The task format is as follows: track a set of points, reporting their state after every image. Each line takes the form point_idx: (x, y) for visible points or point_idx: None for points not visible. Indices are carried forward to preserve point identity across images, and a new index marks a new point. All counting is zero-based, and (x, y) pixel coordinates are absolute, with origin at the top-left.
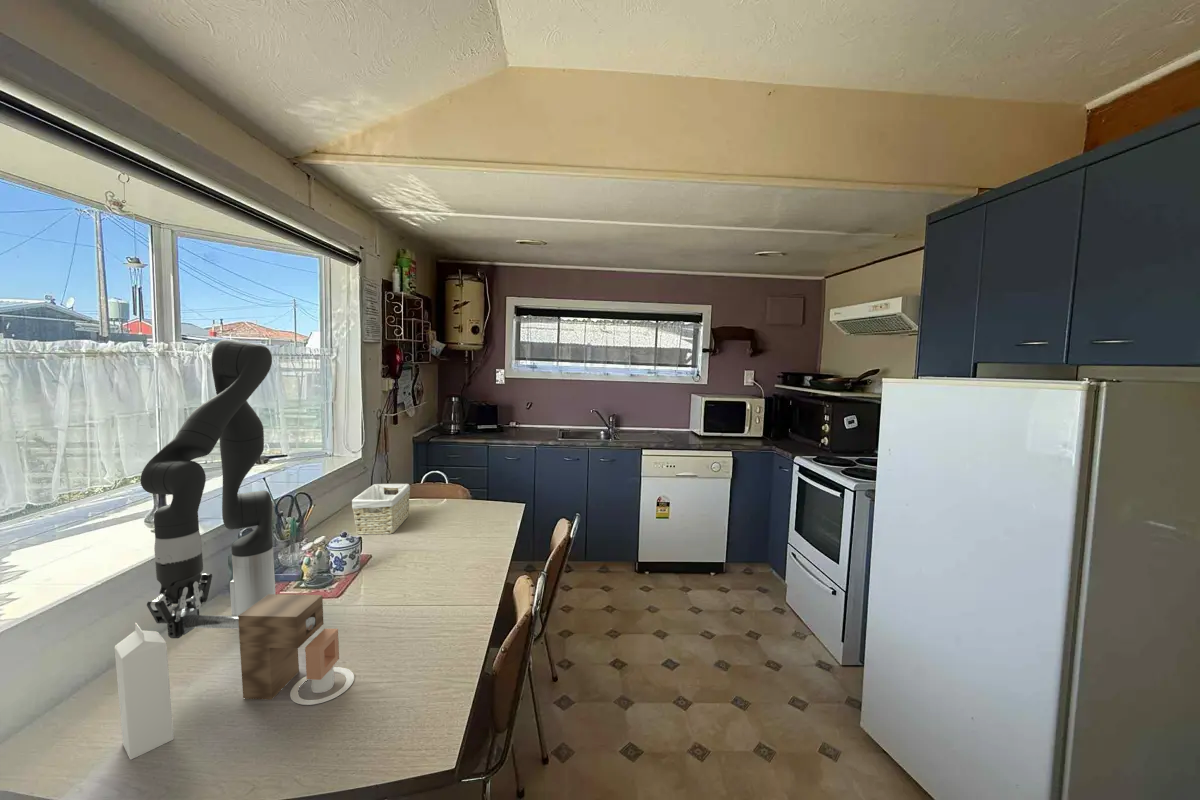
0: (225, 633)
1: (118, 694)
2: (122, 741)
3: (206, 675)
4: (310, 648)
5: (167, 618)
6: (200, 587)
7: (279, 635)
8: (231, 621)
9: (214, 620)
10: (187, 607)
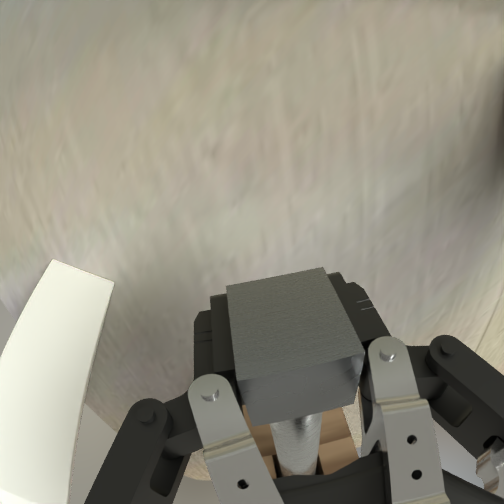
0: (460, 90)
1: (6, 345)
2: (50, 263)
3: (283, 205)
4: None
5: (156, 470)
6: (478, 429)
7: None
8: (283, 466)
9: (280, 449)
10: (368, 365)
